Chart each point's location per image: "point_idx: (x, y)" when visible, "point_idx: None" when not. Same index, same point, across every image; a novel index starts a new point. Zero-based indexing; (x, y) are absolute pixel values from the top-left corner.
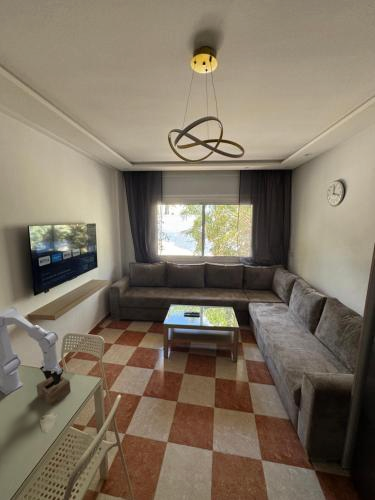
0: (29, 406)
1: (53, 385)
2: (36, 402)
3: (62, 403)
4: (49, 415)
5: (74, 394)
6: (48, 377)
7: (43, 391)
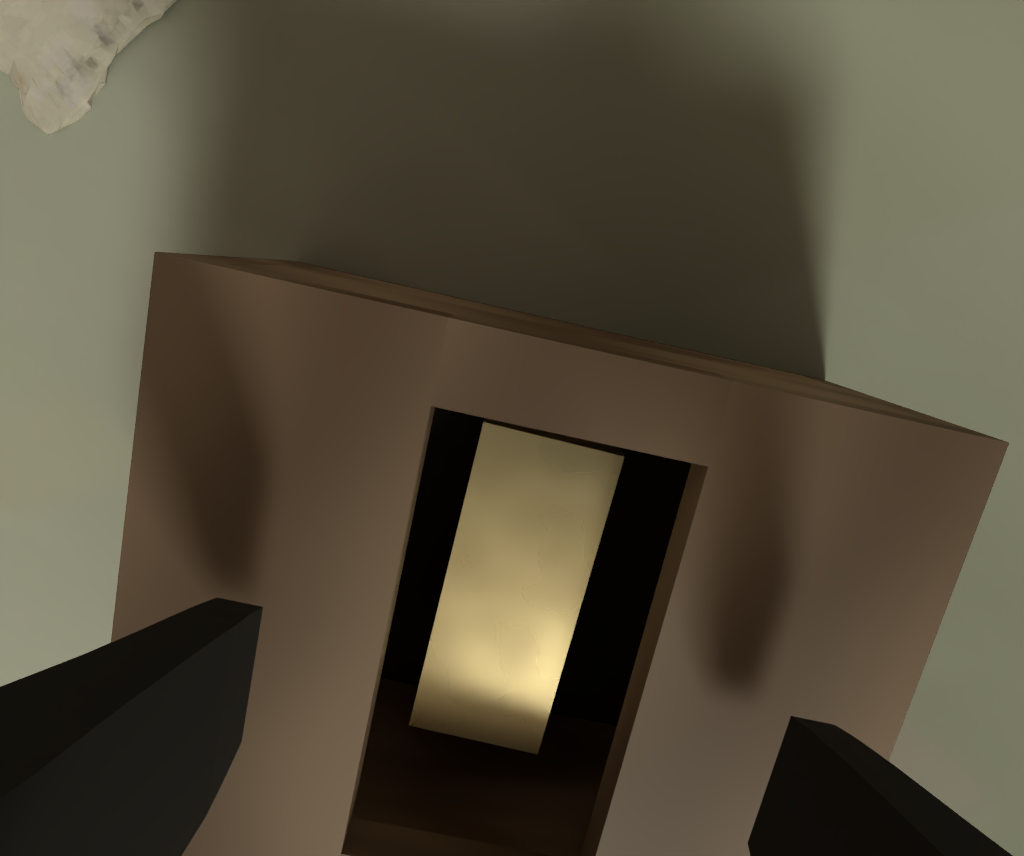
0: (749, 86)
1: (561, 644)
2: (688, 225)
3: (116, 380)
4: (39, 3)
5: (88, 632)
6: (793, 803)
7: (568, 339)
